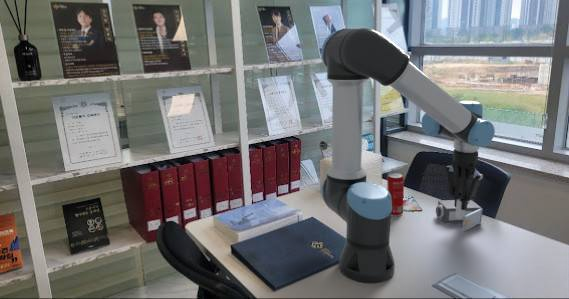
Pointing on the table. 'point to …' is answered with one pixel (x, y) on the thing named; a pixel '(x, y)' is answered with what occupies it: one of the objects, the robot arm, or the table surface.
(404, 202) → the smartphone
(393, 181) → the beverage can
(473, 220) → the side door
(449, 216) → the grey video camera
